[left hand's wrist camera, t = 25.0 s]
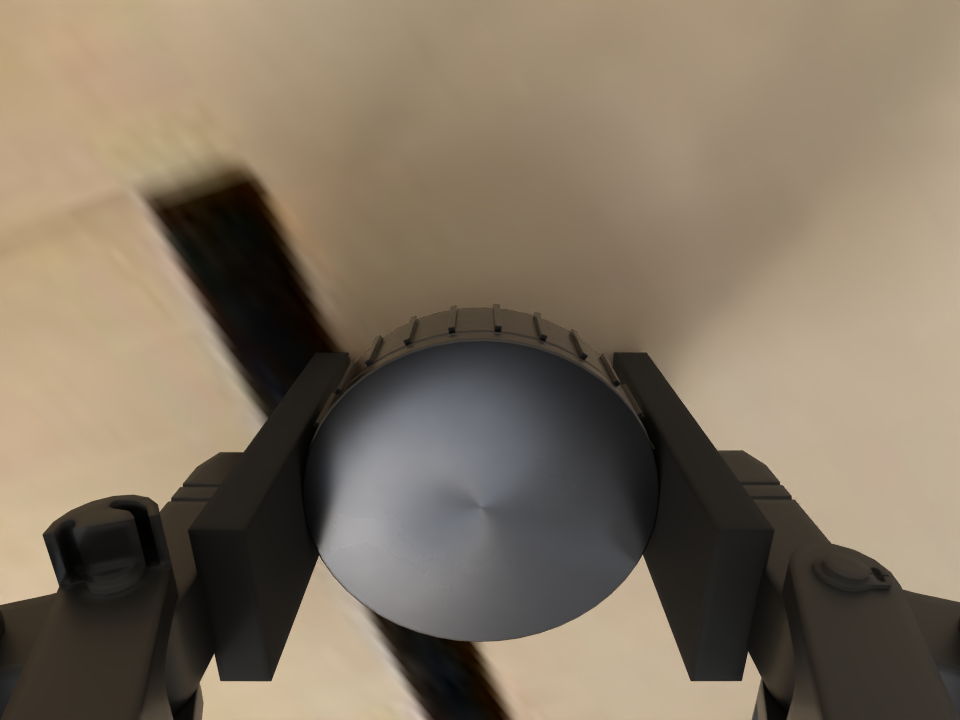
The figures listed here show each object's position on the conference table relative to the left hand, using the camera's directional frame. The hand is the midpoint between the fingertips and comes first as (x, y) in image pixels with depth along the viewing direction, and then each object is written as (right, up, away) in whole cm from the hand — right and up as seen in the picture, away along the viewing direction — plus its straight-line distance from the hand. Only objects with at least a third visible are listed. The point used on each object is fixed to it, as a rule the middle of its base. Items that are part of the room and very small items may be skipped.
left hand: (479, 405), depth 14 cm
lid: (0, -1, -4) cm, 4 cm away
